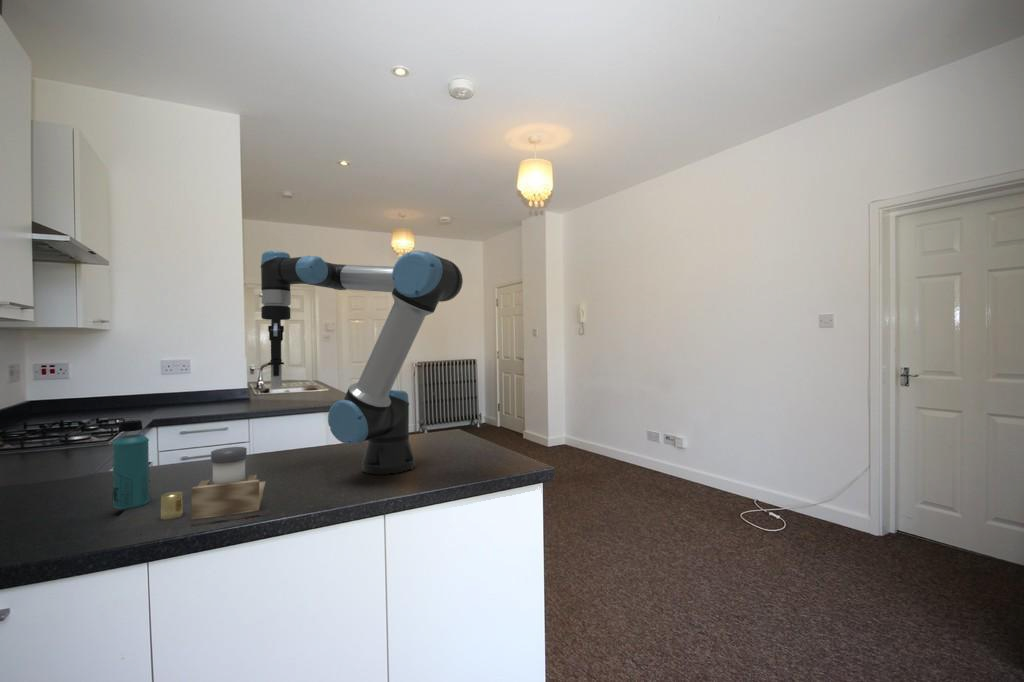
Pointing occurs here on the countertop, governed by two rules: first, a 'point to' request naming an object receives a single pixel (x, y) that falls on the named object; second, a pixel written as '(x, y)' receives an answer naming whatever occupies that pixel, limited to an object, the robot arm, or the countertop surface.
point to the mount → (226, 499)
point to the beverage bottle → (130, 467)
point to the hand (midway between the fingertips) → (276, 387)
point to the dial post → (171, 505)
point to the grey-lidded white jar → (228, 464)
